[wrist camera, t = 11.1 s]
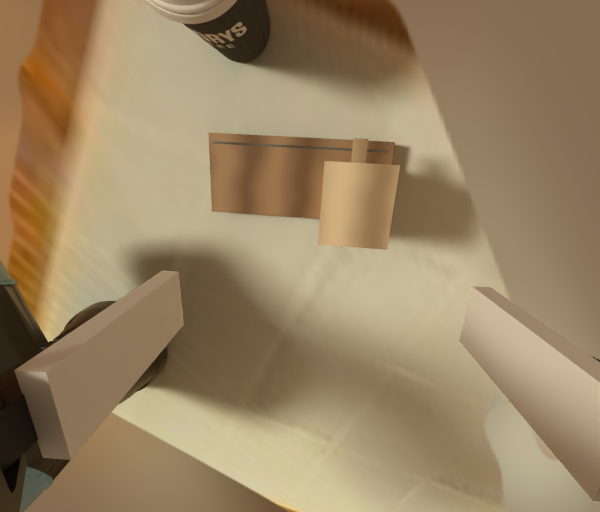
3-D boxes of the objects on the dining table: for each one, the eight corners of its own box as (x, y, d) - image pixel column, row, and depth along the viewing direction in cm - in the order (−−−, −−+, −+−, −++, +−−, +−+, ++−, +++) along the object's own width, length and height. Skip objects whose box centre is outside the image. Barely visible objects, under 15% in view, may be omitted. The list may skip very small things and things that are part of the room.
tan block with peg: (319, 227, 36) (317, 254, 25) (325, 144, 33) (326, 134, 22) (366, 230, 36) (385, 259, 25) (377, 147, 33) (404, 137, 22)
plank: (217, 208, 37) (212, 211, 35) (215, 134, 34) (208, 132, 32) (379, 219, 36) (383, 222, 34) (390, 143, 33) (394, 142, 31)
